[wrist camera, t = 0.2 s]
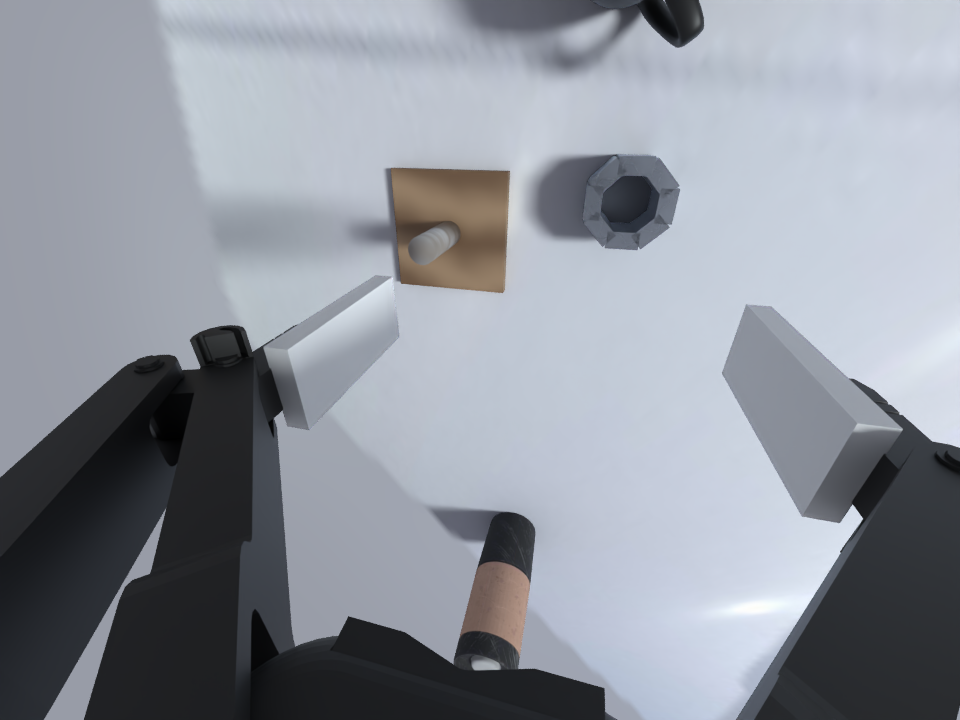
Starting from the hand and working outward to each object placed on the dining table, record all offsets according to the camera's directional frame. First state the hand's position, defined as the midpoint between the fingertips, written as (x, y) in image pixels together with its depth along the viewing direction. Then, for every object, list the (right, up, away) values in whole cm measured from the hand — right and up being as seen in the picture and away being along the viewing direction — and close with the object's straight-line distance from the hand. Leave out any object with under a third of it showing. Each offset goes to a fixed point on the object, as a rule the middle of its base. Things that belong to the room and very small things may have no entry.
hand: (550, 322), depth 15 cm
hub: (+11, +14, +22) cm, 28 cm away
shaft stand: (-6, +12, +27) cm, 30 cm away
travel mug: (+3, -28, +47) cm, 55 cm away
